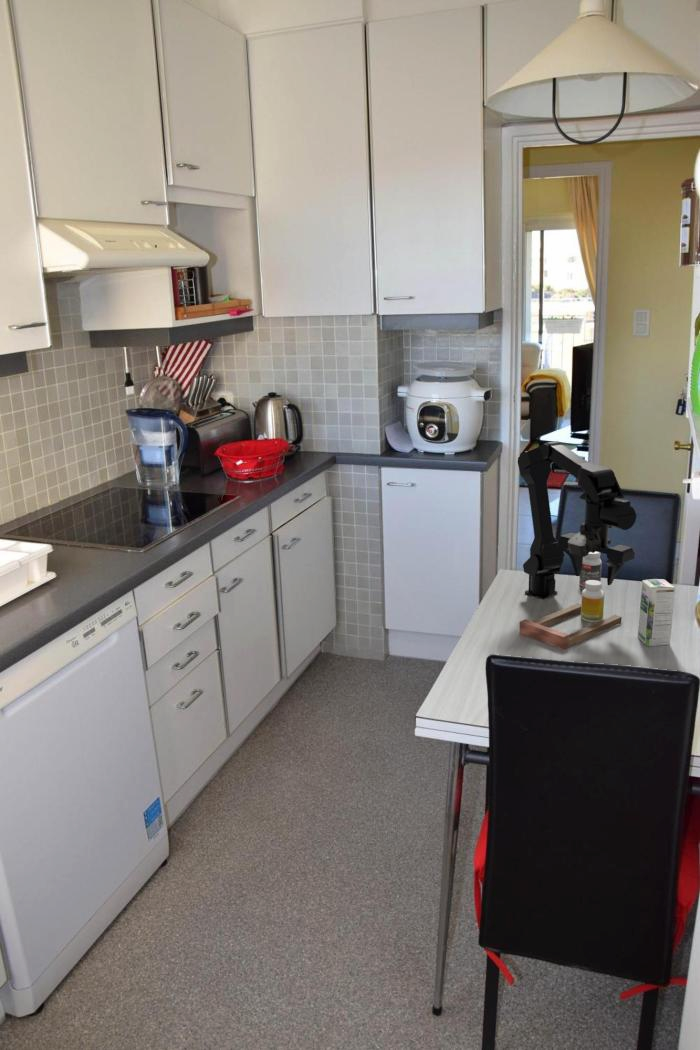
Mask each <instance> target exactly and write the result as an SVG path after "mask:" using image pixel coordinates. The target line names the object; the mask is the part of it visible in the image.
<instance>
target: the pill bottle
mask: <svg viewBox="0 0 700 1050" xmlns="http://www.w3.org/2000/svg"><path fill="white" fill-rule="evenodd" d="M601 554H602V553H600V552H596V551H595V552H594V553H592V552H589V553H588V555H587V556H585V557H583V562H582V569H581V573H580V576H579V579H578V580H579V581H578V583H579V586H580V587H583V588H585V582H586V581H588V580H597V581H600V582H601V583H602V581H601V580H602V565H603V563H602V560H601V558H600V557H601Z"/></svg>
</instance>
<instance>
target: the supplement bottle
mask: <svg viewBox="0 0 700 1050" xmlns="http://www.w3.org/2000/svg"><path fill="white" fill-rule="evenodd" d="M602 585H603V583H602V581H601V582H600V581H597V580H588V581H586V582H585V587H584V589H583V590H582V592H581V603H580V604H581V612H580V619H581V620H583V621H584V622H587V623H597V622H599V621H601V620H604V605H605V604H604V603H605V592H604V591H603V590H602Z"/></svg>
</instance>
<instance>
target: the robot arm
mask: <svg viewBox="0 0 700 1050" xmlns="http://www.w3.org/2000/svg"><path fill="white" fill-rule="evenodd" d="M552 464H556V465H557V466H559V468H562V470H564V471H566V473H569V474H570V475H571V476H572V477H574V478H575V479H576V481H577V485H578V486H579V487H580V488H581V489H582V490H583V493H582V494H580V495H579V499H581V500H584V501H585V503H584V504H585V505H584V522H583V523H580V527H579V532H577V533H574V532H569V533H566V534H562V535H560V536H559V538H558V539H557V538H556V537H555V535H554V529H553V521H552V520H553V519H552V513H551V505H550V498H549V489H548V480H549V479H550V475H551V473H552ZM517 466H518V470H519V474H520V476H521V478H522V479H523V480H524V482H525V483H526V484H527V489H528V494H529V495H528V496H529V503H530V512H531V518H532V526H533V535H534V538H533V540H532V543H531V545H530V548H529V558H528V559H527V560H526V561H525V562H524V563H523V564H522V567H523V572H524V573H525V574H526V575H528V589H527V590H525V591H524V594H526V595H529V596H533V597H536V598H539V599H540V600H541V599H542V600H544V599H547V598H550V597H551V596H556V595H557V594H558V592H559V591H557V590H556V578H555V575H556V574H555V573H560V571H561V568H562V565H563V563H564V558H565V553H566V554H567V555H568V557H569V559H570V561H571V564H572V567H573V570H574V574H575V575H576V577H580V573H581V569H582V562H583V557H585V556H587V555H588V553H589V552H592V553H594V552H595V551H596V552H600V554H605V555H606V558H607V559H608V560H605V563H606V565H607V575H606V577H607V578H606V579H607V580H606V581H607V582H606V583H607V586H611V585H613V582H614V580H615V578H616V577H617V575H618V573H619V572H620V570H621V569H622V566H623V565H624V564H625V563H627V562H630V561H631V560H633V559H635V555H636V552H635V550H634V548H633V547H632V546H628V545H624V544H617V545H615V546H608V545H611V542H612V540H611V538H609V529H611V528H612V527H613V528H617V529H619V530H622V531H627V530H630V529H631V528H632V527H633V526H634V524H635V523H636V521H637V513H636V510H635V509H634V507H632V506H631V501H630V500H627V499H624V494H623V489H622V488H621V487H620V484H619V481H618V480H617V477H616V474H615V472H614V471H613V470H612V469H611V468H609V467H606V466H604V465H601V464H596V463H591V462H589V461H588V460H586V459H585V458H584V457H582V456H580V455H579V454H577V453H575V452H574V451H573V450H570V448H568V447H566V446H565V445H564V443H563V442H561V441H557V440H556V441H549V442H544V443H543V444H541V445H539V446H537V447H535V448H532V449H530V450H525V451H522V452H521V453H520V455H519V456H518V457H517Z"/></svg>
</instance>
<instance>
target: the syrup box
mask: <svg viewBox="0 0 700 1050" xmlns="http://www.w3.org/2000/svg"><path fill="white" fill-rule="evenodd" d="M675 590H676V587H675V586H673V585H672V584H671V583H670V582H668V581H667V580H666V579H661V578H660V579H659V578H652V579H643V580H642V582H641V592H640V593H641V594H640V604H639V606H640V607H639V616H638V617H639V618H638V626H637V627H638V629H637V630H638V631H637V638H638V639H640V640H641V642H642V643H644V645H645V646H647V647H655V646H656V647H657V646H668V645H671V640H672V639H671V638H672V627H673V616H674V604H675V594H676V593H675V592H676V591H675Z"/></svg>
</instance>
